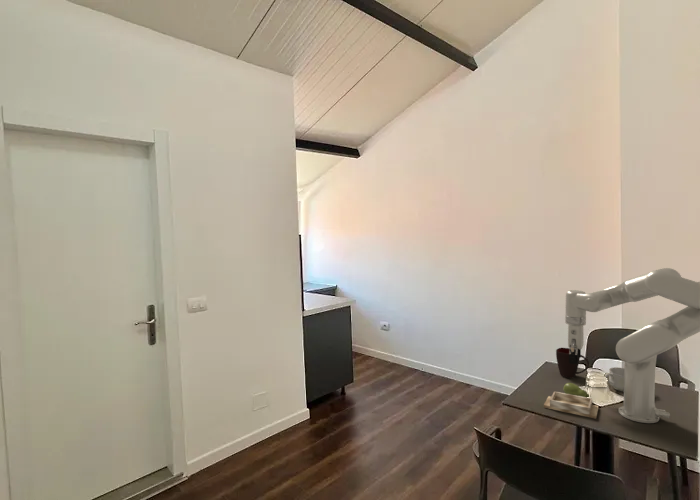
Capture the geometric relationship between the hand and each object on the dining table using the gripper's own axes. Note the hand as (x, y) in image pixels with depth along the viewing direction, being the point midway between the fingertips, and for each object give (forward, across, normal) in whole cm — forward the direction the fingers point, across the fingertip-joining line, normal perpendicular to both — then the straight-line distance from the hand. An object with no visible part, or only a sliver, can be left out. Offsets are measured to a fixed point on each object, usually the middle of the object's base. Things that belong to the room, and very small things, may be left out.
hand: (574, 360), depth 174 cm
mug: (+16, +25, +4) cm, 30 cm away
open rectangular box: (+16, -13, 0) cm, 20 cm away
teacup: (+16, +19, -16) cm, 29 cm away
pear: (+16, 0, -1) cm, 16 cm away
